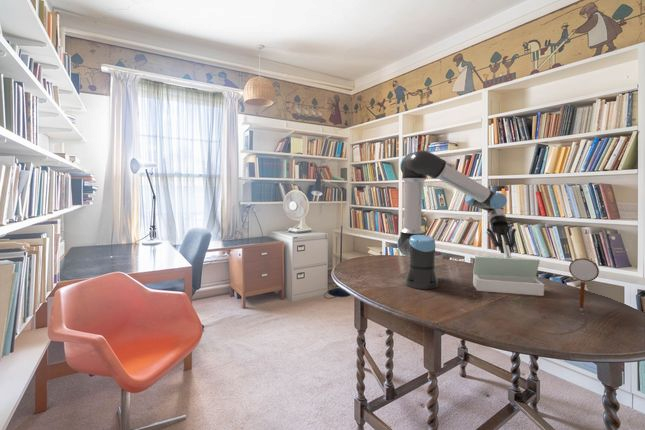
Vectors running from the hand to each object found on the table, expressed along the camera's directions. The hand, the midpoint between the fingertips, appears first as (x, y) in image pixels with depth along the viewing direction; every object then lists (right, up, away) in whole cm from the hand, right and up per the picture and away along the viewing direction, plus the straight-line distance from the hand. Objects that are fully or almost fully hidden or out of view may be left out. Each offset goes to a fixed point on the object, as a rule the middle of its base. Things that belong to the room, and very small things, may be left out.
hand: (508, 258), depth 143 cm
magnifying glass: (+12, -16, -26) cm, 33 cm away
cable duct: (-2, -14, -1) cm, 14 cm away
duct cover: (-1, -4, +1) cm, 5 cm away
